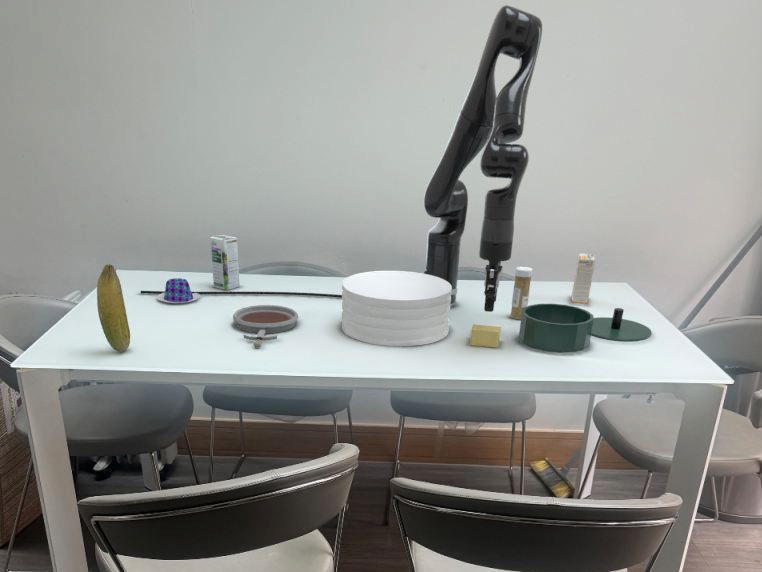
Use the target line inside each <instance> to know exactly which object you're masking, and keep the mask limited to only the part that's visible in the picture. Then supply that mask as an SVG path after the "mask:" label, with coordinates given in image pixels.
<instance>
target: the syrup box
mask: <svg viewBox="0 0 762 572" xmlns="http://www.w3.org/2000/svg"><path fill="white" fill-rule="evenodd" d="M209 242H210V253H211V254H210V255H211V267H212V268H211V269H212V280H213V281H212V283H213V288H217V289H220V290H224V291H230V290H234V289H237V288H239V287H241V285H240V268H239V265H240V264H239V249H238V238H237V237H235V236H229V235H225V234H217V235H213V236H210V237H209Z"/></svg>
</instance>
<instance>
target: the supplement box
mask: <svg viewBox="0 0 762 572" xmlns="http://www.w3.org/2000/svg"><path fill="white" fill-rule="evenodd" d="M595 263H596V257H595V254H594V253H593V254H591V253H578V256H577V261H576V267H575V274H574V280H573V285H572V292H571V296H570V297H571V303H573V304H584V305H588V303H589V298H590V292H591V286H592V283H593V275H594V270H595Z"/></svg>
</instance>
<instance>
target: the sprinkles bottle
mask: <svg viewBox="0 0 762 572" xmlns="http://www.w3.org/2000/svg"><path fill="white" fill-rule="evenodd" d="M532 276H533V268H531V267H529V266H517V267H516V268H515V270H514V284H513V289H512V290H513V291H512V300H511V311H510V317H511V319H514V320H521V315H522V309H523V308H525V307H527V306H529V297H530V287H531V280H532Z"/></svg>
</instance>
